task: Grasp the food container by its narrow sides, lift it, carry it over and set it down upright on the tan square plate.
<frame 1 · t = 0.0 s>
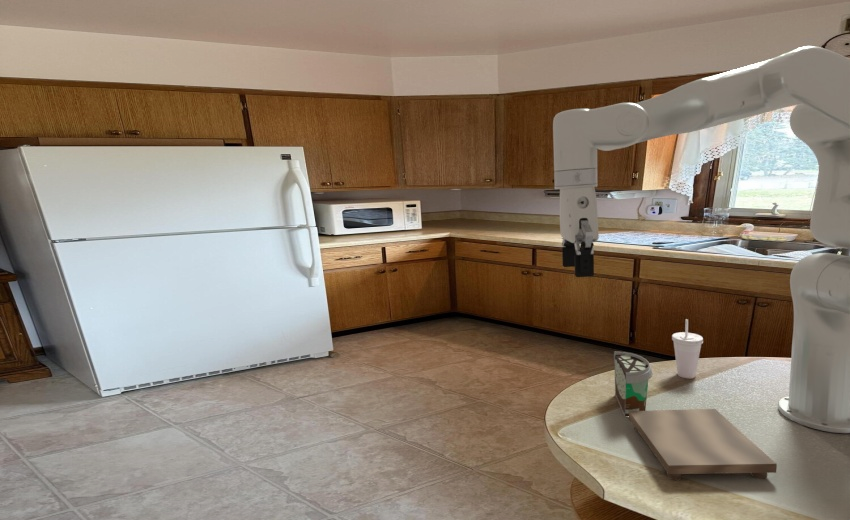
hand: (577, 271, 84), 31 cm above the table, tool pointing down, fingers open, 9 cm apart
tan square plate: (693, 450, 78), on the table
food container: (635, 406, 94), on the table
smoothie: (686, 375, 107), on the table
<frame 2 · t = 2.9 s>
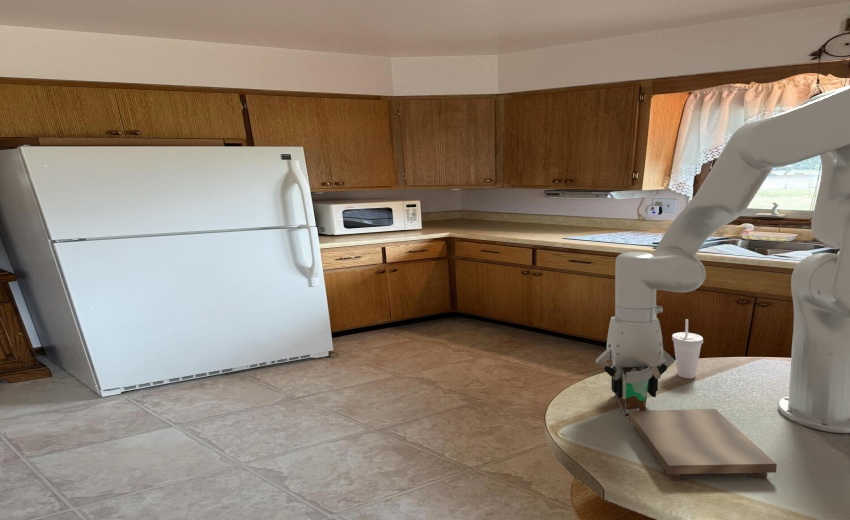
hand: (634, 393, 94), 3 cm above the table, tool pointing down, fingers open, 6 cm apart
food container: (635, 406, 94), on the table, touching gripper
everything else where it was.
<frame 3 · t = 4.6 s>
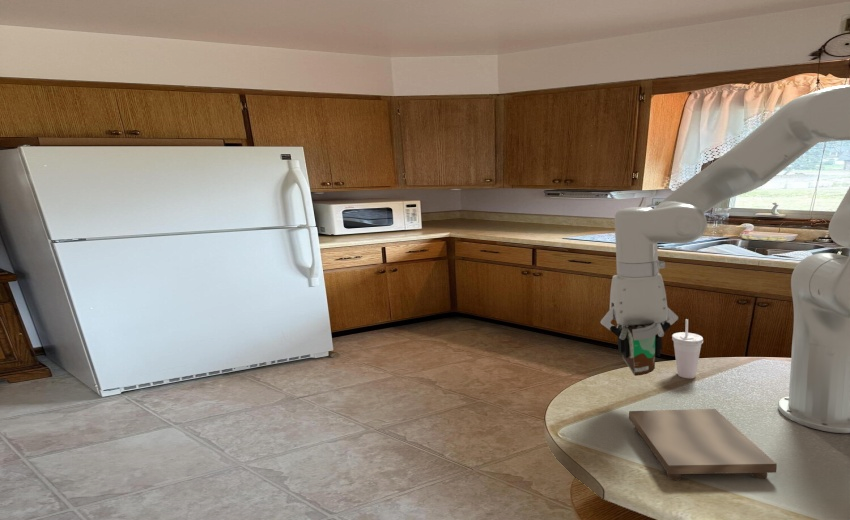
hand: (639, 353, 92), 12 cm above the table, tool pointing down, fingers closed on food container, 5 cm apart
food container: (644, 366, 93), point 9 cm above the table, touching gripper
everything else where it was.
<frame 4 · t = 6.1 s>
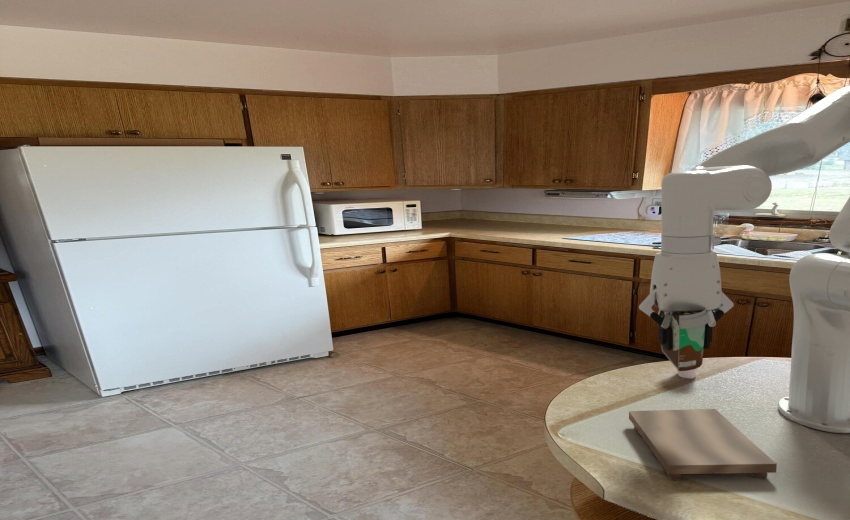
hand: (684, 345, 78), 18 cm above the table, tool pointing down, fingers closed on food container, 5 cm apart
food container: (688, 360, 79), point 15 cm above the table, touching gripper
everything else where it was.
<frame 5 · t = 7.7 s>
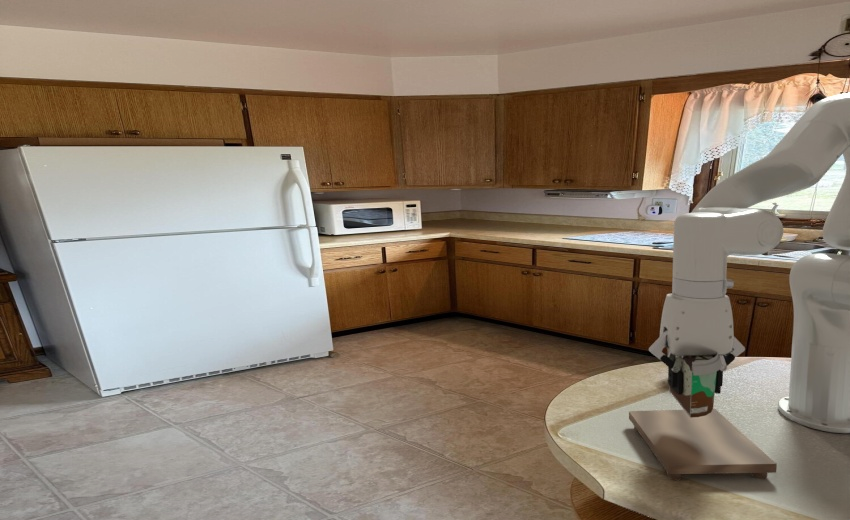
hand: (694, 389, 76), 11 cm above the table, tool pointing down, fingers closed on food container, 5 cm apart
food container: (698, 404, 77), point 9 cm above the table, touching gripper
everything else where it was.
when the fingers open (7 cm above the table, at t = 8.9 s): food container drops 1 cm, resting on tan square plate.
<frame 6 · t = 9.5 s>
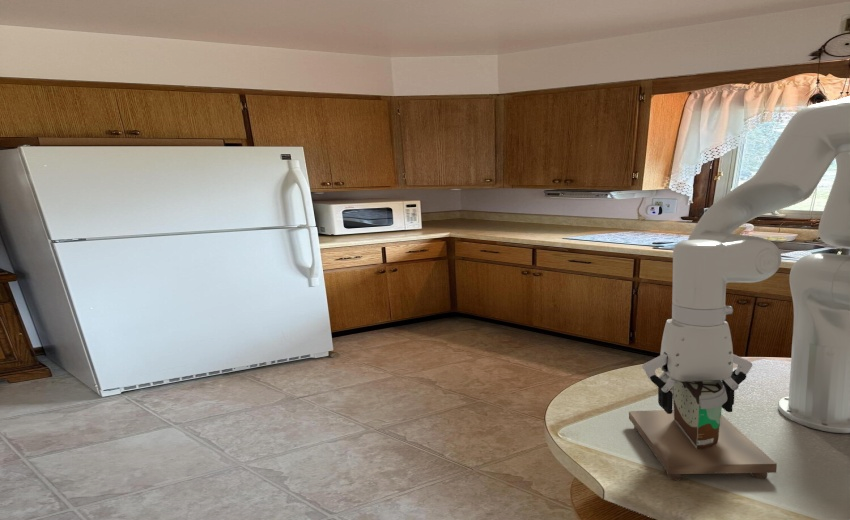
hand: (695, 409, 77), 8 cm above the table, tool pointing down, fingers open, 9 cm apart
food container: (703, 434, 78), point 3 cm above the table, touching gripper, tan square plate
everything else where it was.
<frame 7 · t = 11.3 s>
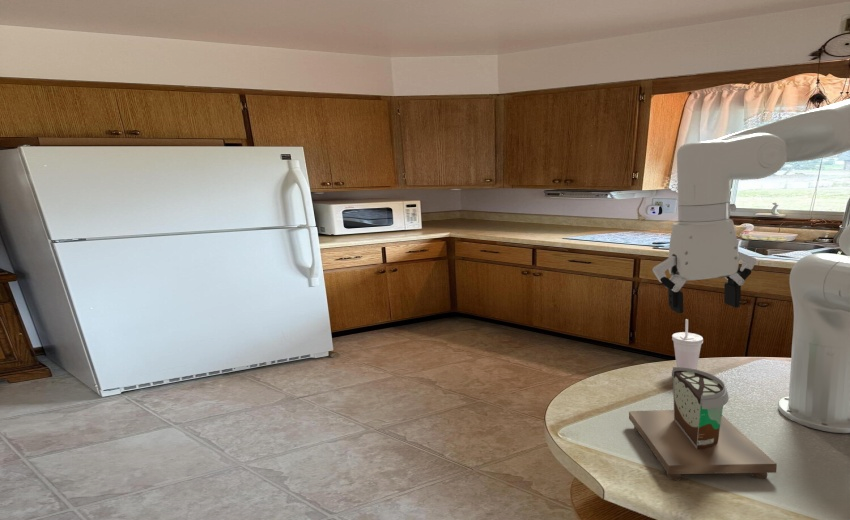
hand: (704, 308, 80), 24 cm above the table, tool pointing down, fingers open, 9 cm apart
food container: (703, 434, 78), point 3 cm above the table, touching tan square plate
everything else where it was.
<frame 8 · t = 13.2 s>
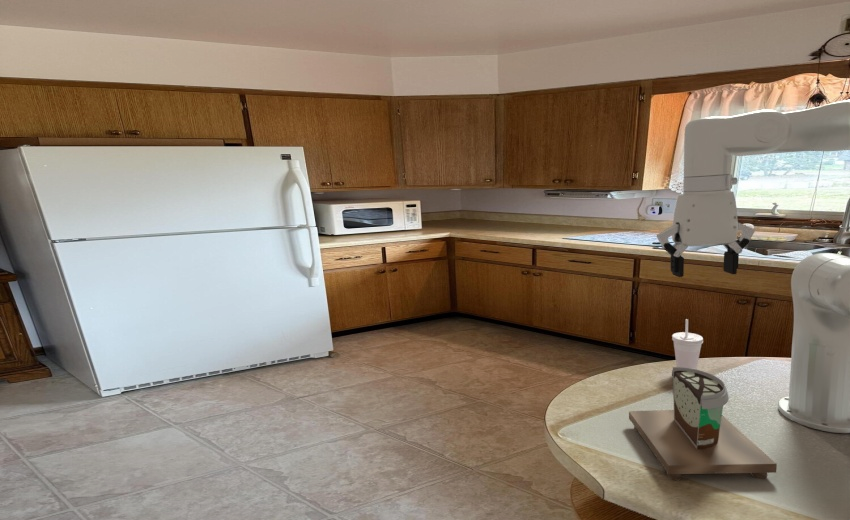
hand: (703, 274, 87), 28 cm above the table, tool pointing down, fingers open, 9 cm apart
nothing on the table moved.
at the end: food container inside the target area on the tan square plate (1.6 cm from its centre), point 2.8 cm above the tan square plate's base; food container tilted 0°; food container touching tan square plate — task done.
